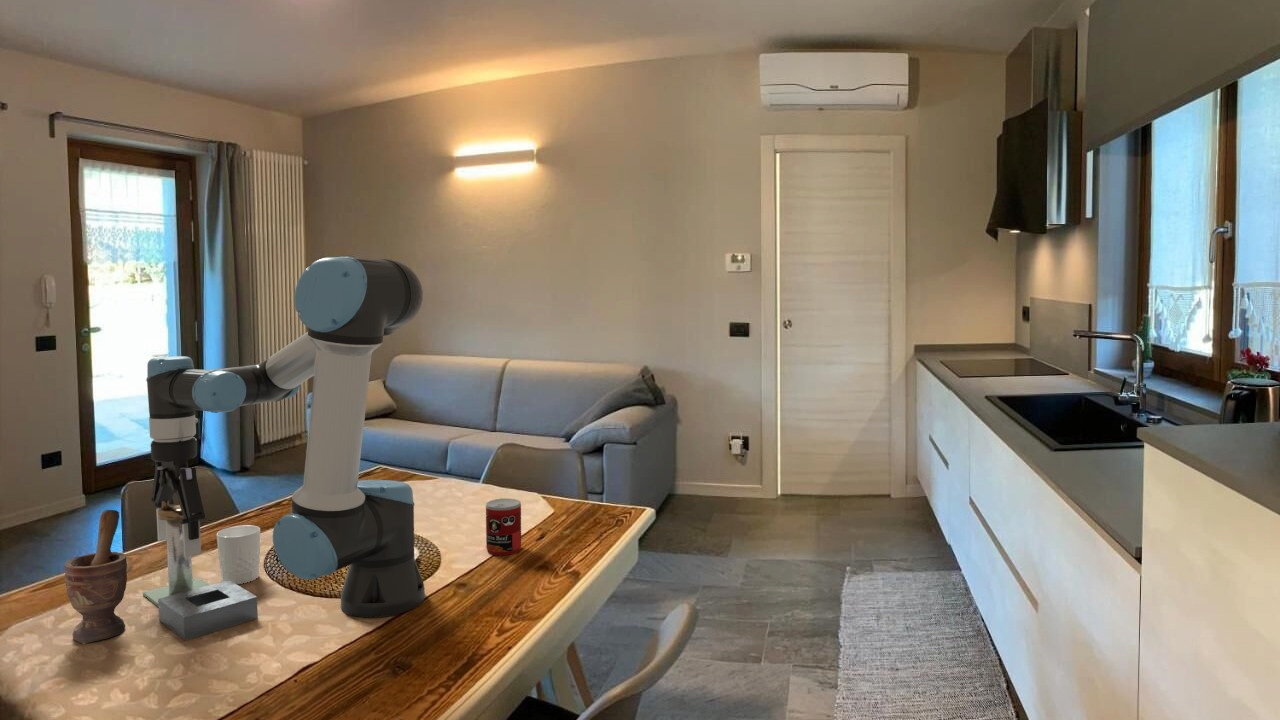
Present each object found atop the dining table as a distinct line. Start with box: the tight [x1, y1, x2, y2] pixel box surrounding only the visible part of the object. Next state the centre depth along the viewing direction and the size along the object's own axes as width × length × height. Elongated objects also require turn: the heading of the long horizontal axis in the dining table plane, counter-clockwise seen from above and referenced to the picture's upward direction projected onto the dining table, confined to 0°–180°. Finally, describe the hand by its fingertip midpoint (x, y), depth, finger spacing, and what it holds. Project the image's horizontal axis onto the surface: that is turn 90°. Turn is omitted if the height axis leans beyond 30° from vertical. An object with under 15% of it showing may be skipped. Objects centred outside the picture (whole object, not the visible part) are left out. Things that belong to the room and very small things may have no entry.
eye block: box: [158, 580, 259, 642], centre depth 139 cm, size 12×12×4 cm
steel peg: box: [158, 500, 194, 595], centre depth 150 cm, size 6×6×18 cm
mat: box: [142, 577, 210, 608], centre depth 151 cm, size 10×10×1 cm
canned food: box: [485, 498, 522, 556], centre depth 177 cm, size 8×8×11 cm
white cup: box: [216, 524, 261, 585], centre depth 159 cm, size 8×8×10 cm
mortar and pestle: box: [64, 509, 128, 645], centre depth 134 cm, size 12×9×20 cm
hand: (179, 547), depth 150 cm, fingers open, 13 cm apart
